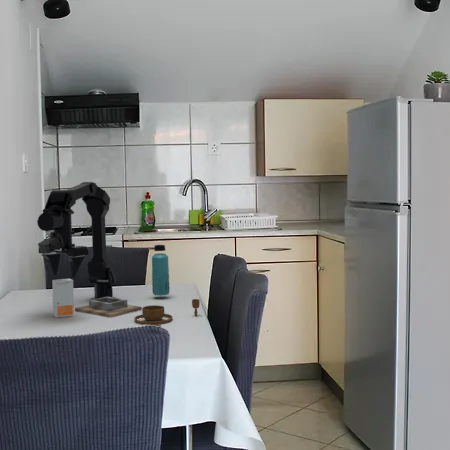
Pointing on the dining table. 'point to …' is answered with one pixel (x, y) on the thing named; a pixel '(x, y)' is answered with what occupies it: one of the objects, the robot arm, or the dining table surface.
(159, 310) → the place setting
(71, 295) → the skincare box
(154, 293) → the beverage bottle
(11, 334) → the dining table surface
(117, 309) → the duct collar
